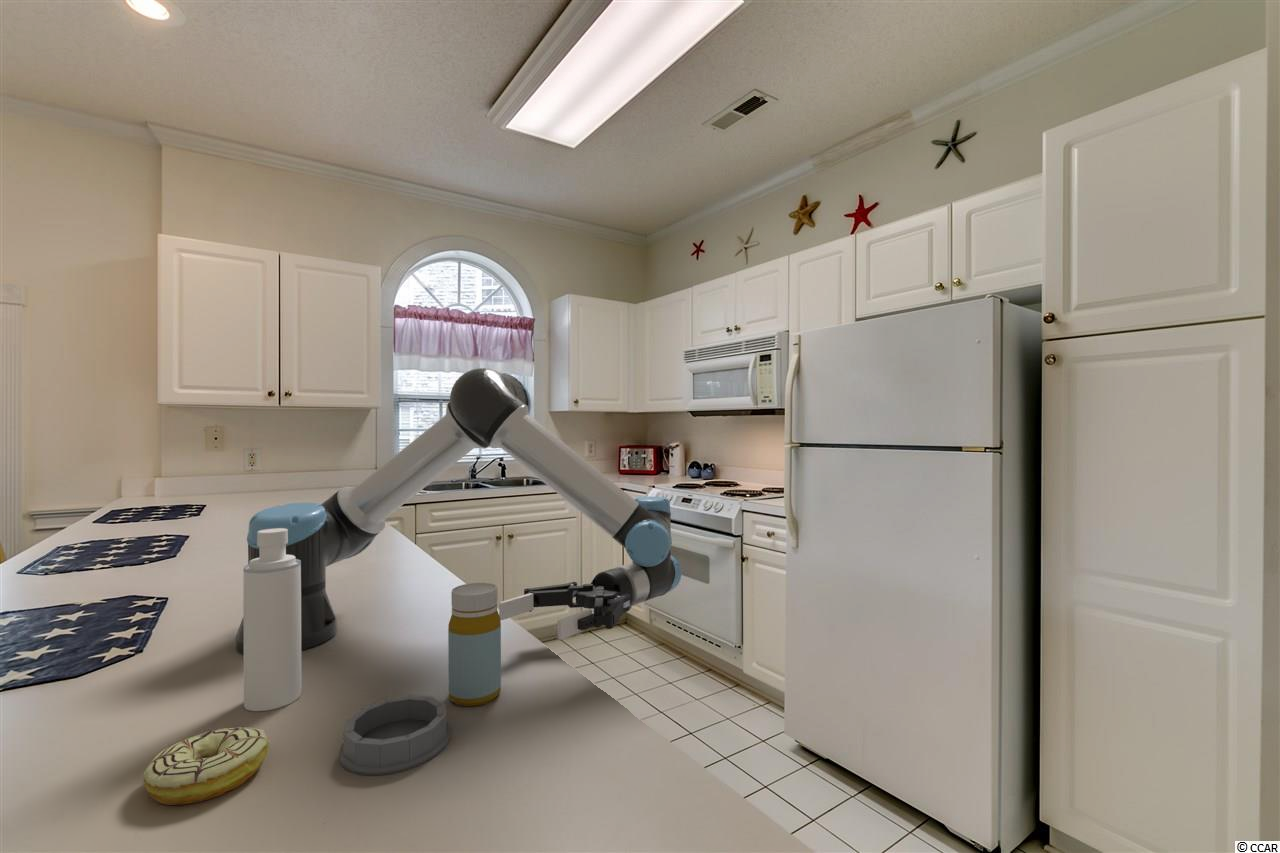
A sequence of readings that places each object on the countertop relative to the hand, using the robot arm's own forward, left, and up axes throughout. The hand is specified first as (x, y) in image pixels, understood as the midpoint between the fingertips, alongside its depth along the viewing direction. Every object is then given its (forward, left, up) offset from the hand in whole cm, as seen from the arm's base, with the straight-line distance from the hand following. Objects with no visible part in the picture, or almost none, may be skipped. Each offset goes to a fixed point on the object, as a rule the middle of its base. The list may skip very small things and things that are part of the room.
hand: (528, 620), depth 87 cm
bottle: (0, -10, -8) cm, 13 cm away
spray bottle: (-21, -28, -8) cm, 36 cm away
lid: (+3, -22, -8) cm, 24 cm away
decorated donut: (-7, -38, -8) cm, 40 cm away
